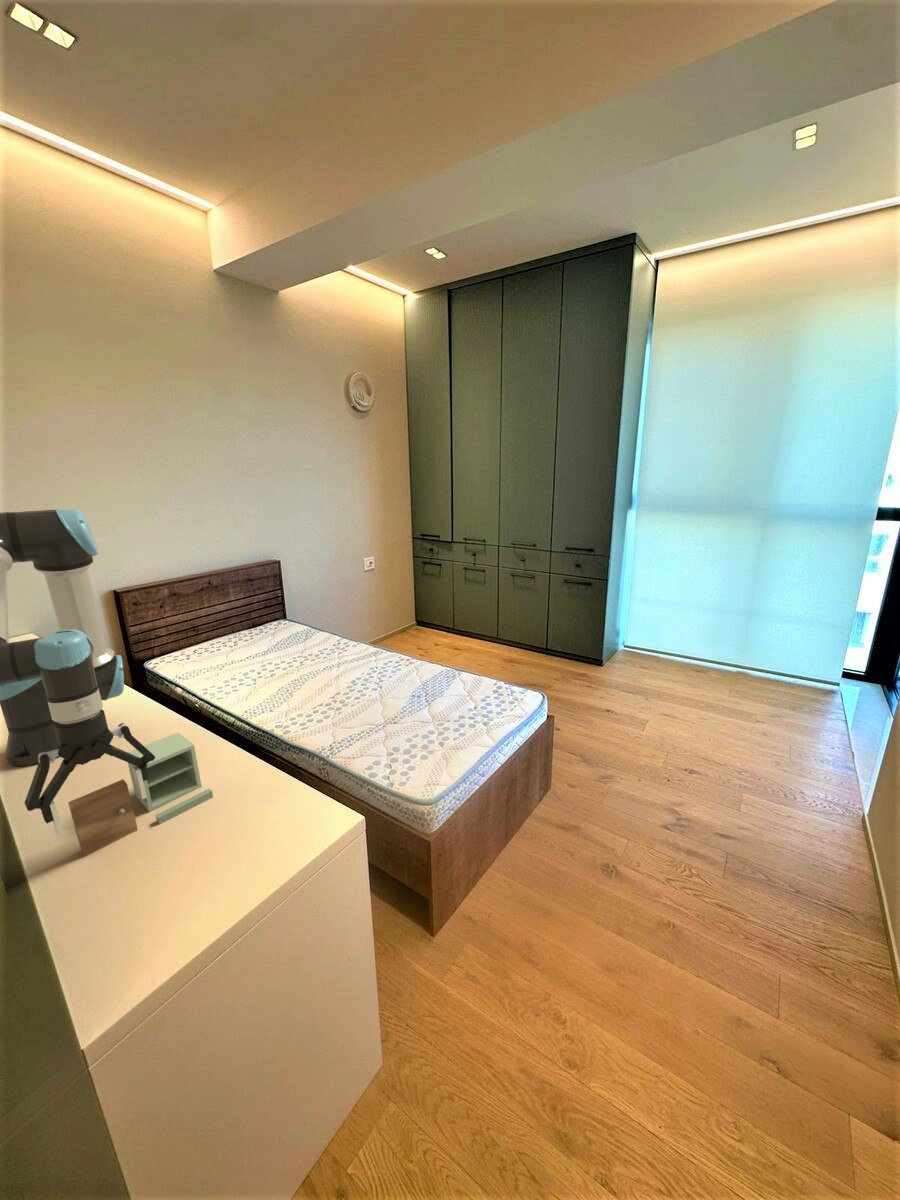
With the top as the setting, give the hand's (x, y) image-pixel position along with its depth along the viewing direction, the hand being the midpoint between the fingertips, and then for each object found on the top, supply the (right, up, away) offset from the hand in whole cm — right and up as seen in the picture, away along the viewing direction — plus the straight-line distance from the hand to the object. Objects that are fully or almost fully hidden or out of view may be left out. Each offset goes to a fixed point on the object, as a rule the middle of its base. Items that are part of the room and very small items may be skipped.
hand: (103, 813), depth 92 cm
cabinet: (+5, -3, +14) cm, 15 cm away
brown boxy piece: (0, -6, +2) cm, 6 cm away
